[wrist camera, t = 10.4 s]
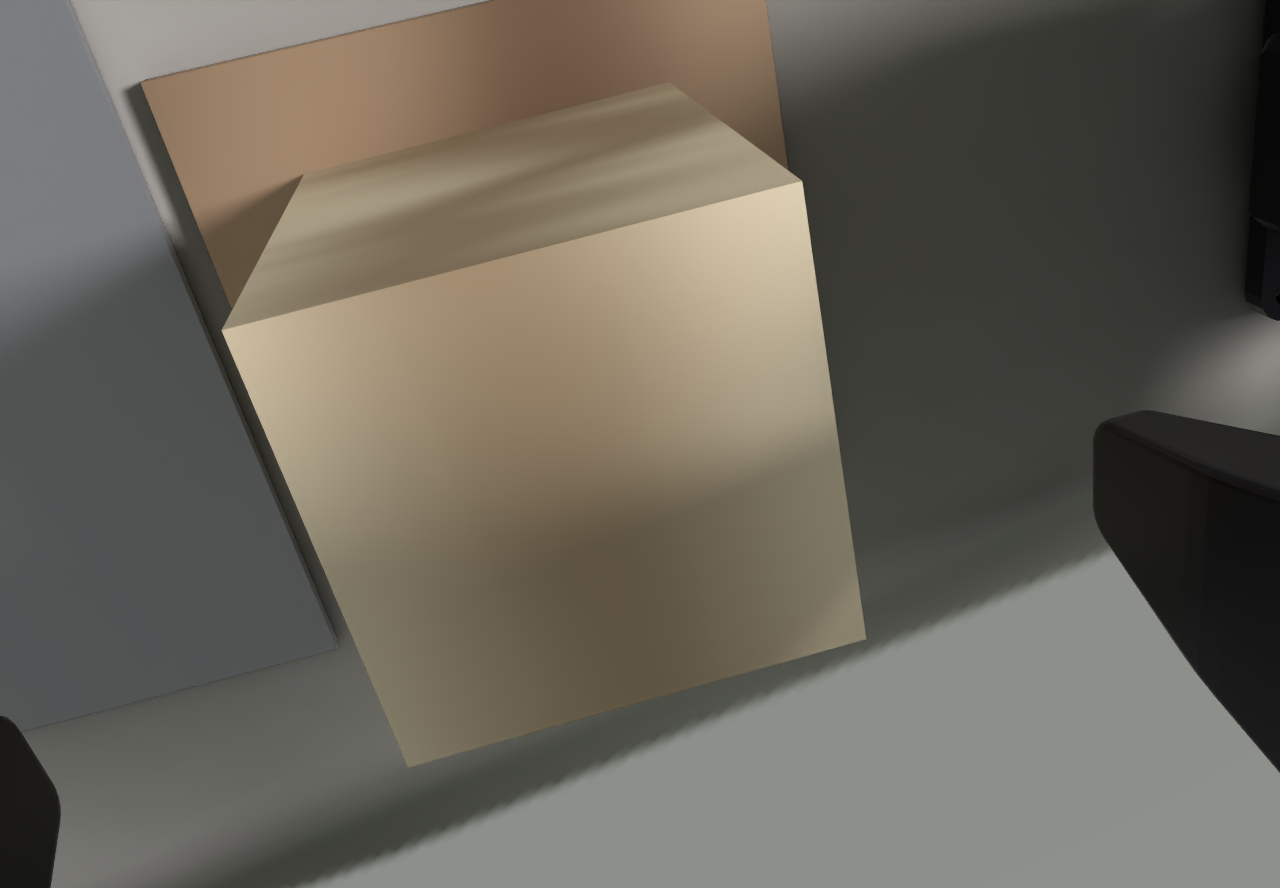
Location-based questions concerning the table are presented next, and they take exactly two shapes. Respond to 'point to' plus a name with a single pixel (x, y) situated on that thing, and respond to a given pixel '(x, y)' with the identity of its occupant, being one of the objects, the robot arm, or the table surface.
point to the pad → (440, 95)
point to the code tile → (117, 423)
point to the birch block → (556, 415)
